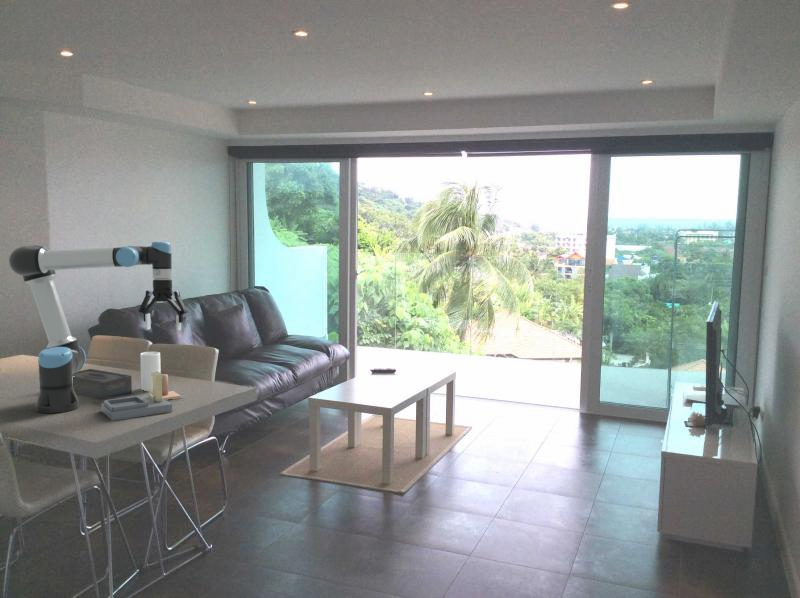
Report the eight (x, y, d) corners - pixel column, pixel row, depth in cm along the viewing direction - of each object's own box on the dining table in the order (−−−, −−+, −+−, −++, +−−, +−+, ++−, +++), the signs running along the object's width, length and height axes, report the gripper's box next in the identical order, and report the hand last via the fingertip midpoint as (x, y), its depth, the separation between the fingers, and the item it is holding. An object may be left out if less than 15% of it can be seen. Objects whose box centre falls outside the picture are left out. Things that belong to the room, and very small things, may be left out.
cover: (156, 402, 277) (156, 378, 276) (149, 397, 285) (148, 374, 284) (180, 399, 283) (180, 375, 282) (173, 394, 291) (172, 371, 290)
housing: (112, 420, 249) (112, 408, 248) (101, 411, 261) (101, 399, 261) (172, 411, 262) (171, 400, 261) (159, 403, 274) (158, 392, 274)
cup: (138, 391, 295) (137, 354, 293) (145, 386, 303) (144, 351, 301) (157, 391, 295) (156, 355, 293) (163, 386, 303) (162, 351, 302)
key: (147, 396, 272) (147, 369, 271) (153, 395, 274) (153, 368, 273) (157, 402, 262) (156, 375, 261) (163, 401, 264) (162, 374, 263)
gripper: (129, 279, 277) (130, 330, 279) (186, 280, 273) (187, 332, 276) (138, 277, 284) (140, 327, 286) (194, 279, 281) (195, 329, 283)
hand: (163, 330), depth 281 cm, fingers open, 13 cm apart
